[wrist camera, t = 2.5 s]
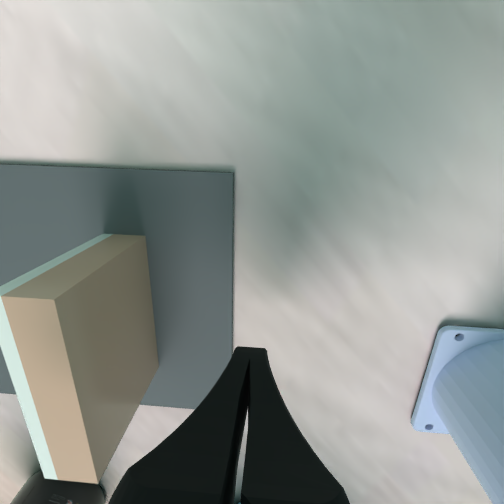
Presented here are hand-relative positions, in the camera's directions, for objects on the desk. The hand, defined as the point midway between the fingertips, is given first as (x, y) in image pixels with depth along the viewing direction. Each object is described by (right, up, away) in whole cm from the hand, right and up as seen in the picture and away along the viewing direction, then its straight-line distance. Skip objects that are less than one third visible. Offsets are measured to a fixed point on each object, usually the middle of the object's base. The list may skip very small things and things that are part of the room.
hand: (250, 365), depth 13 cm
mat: (-10, +2, +5) cm, 11 cm away
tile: (-7, +2, +4) cm, 9 cm away
